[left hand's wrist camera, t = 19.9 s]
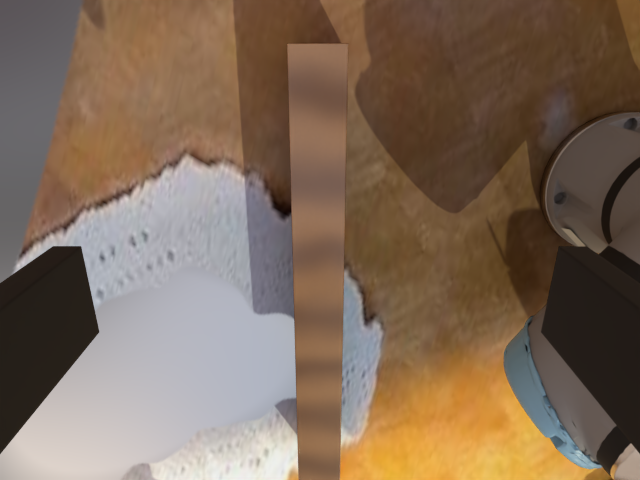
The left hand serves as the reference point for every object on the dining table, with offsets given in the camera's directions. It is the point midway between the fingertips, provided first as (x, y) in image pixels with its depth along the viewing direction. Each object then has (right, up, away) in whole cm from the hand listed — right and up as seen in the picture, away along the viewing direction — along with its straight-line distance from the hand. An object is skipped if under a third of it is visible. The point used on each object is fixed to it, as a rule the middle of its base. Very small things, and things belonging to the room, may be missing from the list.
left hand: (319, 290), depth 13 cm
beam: (0, -3, +42) cm, 42 cm away
